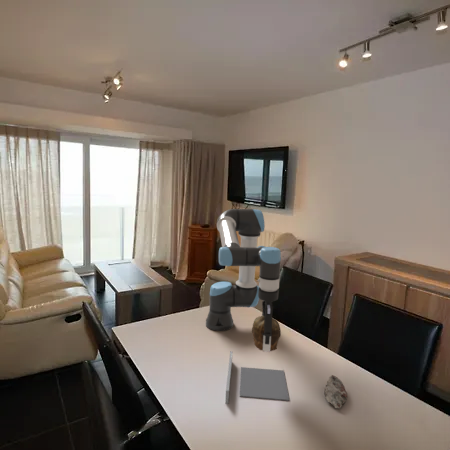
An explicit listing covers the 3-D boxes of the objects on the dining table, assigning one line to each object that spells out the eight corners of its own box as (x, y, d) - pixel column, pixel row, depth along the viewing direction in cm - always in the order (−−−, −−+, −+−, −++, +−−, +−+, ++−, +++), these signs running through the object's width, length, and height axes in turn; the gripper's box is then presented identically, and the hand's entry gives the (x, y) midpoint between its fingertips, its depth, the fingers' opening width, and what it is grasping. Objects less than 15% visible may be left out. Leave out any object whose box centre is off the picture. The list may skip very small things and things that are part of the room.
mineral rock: (342, 413, 108) (343, 402, 107) (319, 404, 112) (320, 392, 111) (350, 390, 120) (352, 380, 119) (329, 383, 124) (330, 372, 124)
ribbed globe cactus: (246, 349, 118) (248, 319, 116) (257, 337, 127) (259, 309, 126) (273, 357, 113) (275, 326, 111) (283, 344, 122) (285, 315, 121)
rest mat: (240, 367, 132) (240, 367, 132) (283, 371, 130) (283, 370, 130) (239, 396, 114) (239, 395, 114) (289, 400, 113) (289, 399, 113)
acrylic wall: (229, 362, 136) (230, 351, 135) (232, 362, 136) (232, 351, 135) (225, 403, 110) (225, 390, 109) (228, 403, 110) (228, 390, 109)
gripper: (257, 278, 129) (255, 328, 132) (259, 299, 106) (256, 359, 109) (275, 279, 128) (272, 329, 131) (281, 300, 105) (278, 360, 108)
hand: (265, 343), depth 120 cm, fingers closed on ribbed globe cactus, 11 cm apart
